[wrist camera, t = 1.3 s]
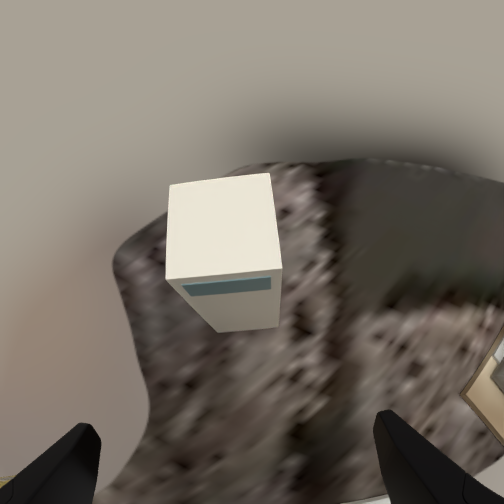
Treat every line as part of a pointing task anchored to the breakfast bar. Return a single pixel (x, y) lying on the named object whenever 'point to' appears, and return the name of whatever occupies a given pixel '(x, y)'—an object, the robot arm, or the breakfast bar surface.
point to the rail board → (489, 389)
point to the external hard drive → (373, 500)
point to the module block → (226, 251)
